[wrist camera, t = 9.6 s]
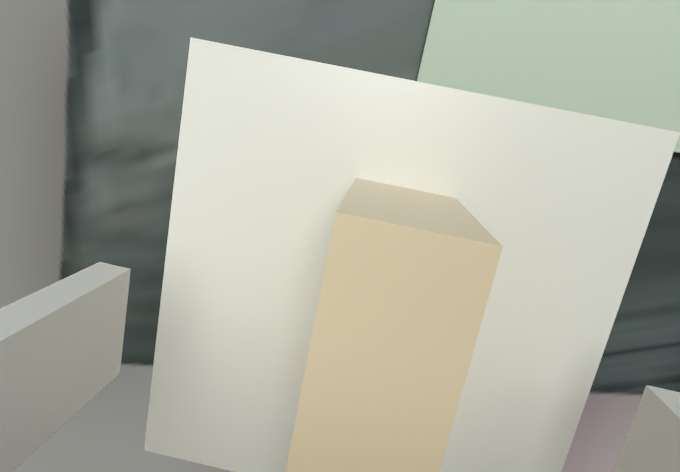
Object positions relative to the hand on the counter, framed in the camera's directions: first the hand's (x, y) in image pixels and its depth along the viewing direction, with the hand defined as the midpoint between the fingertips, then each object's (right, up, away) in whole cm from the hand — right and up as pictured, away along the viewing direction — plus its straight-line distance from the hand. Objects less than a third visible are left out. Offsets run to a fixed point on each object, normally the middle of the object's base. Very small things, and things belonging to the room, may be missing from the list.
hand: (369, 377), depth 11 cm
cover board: (+1, +1, +5) cm, 5 cm away
